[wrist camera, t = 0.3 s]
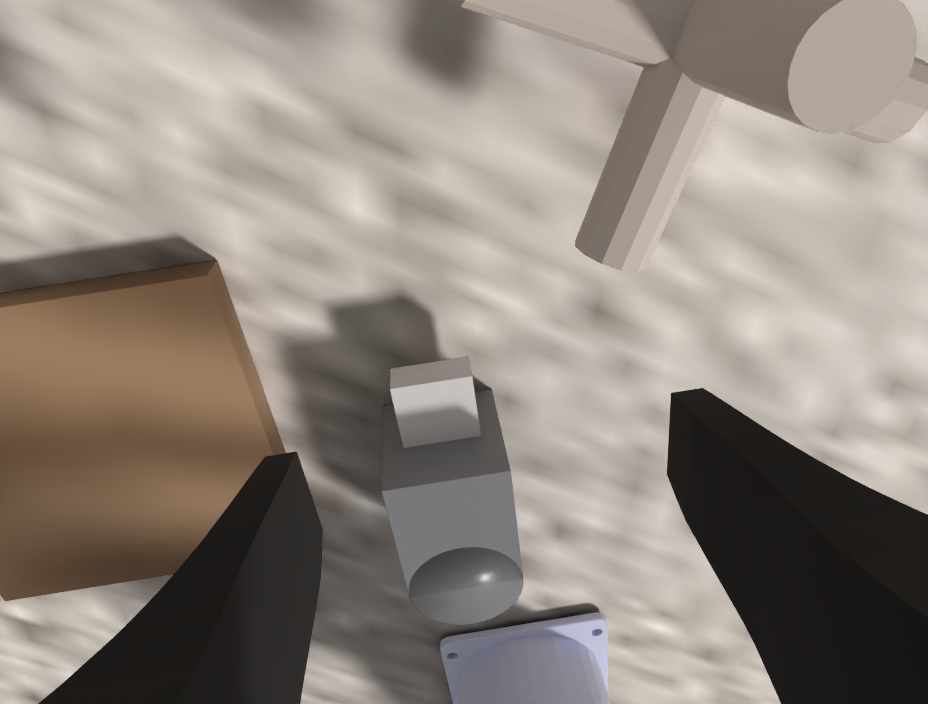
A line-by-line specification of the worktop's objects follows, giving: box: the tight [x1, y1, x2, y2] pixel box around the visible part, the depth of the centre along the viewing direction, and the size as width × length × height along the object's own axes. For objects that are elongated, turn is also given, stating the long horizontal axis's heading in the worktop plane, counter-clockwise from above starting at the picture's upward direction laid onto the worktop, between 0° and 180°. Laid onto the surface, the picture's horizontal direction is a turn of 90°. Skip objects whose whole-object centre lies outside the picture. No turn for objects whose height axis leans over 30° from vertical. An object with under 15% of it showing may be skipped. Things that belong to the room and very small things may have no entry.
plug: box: [382, 356, 523, 625], centre depth 23 cm, size 9×4×4 cm, turn 7°
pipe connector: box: [461, 0, 928, 272], centre depth 13 cm, size 10×10×10 cm
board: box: [0, 260, 285, 601], centre depth 22 cm, size 12×12×1 cm
